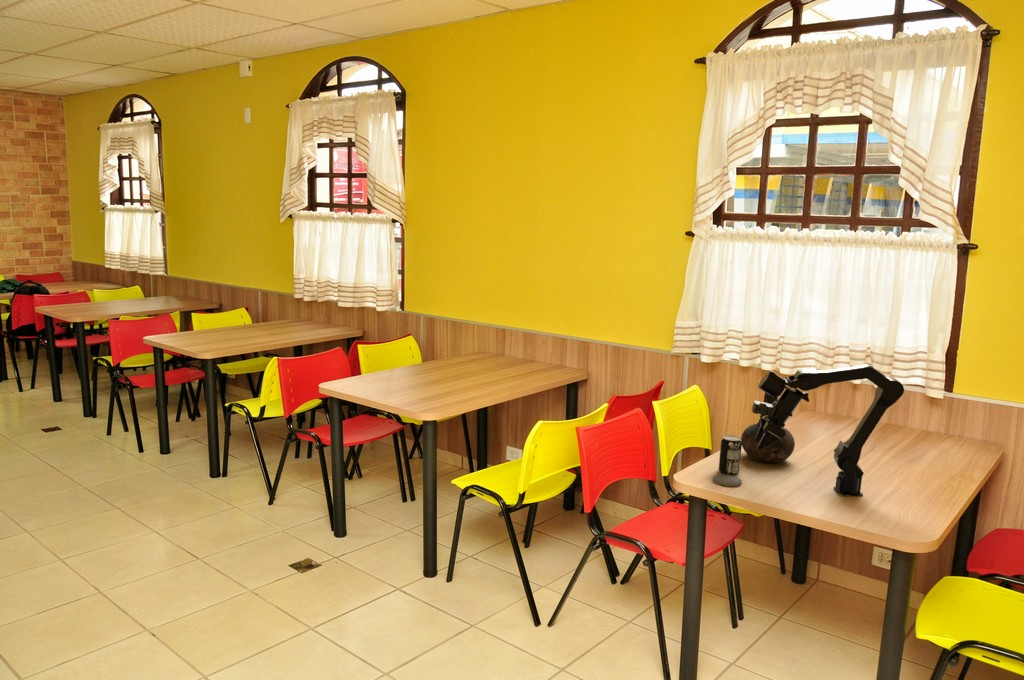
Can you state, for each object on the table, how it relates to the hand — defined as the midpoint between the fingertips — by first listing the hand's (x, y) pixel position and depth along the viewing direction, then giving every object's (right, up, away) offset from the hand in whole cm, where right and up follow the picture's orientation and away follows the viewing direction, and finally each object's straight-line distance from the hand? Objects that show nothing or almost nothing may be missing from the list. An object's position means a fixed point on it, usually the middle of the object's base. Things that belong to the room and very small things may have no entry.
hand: (757, 444), depth 246 cm
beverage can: (-6, -11, +10) cm, 16 cm away
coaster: (-9, -12, +1) cm, 15 cm away
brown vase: (+11, -9, +26) cm, 29 cm away
